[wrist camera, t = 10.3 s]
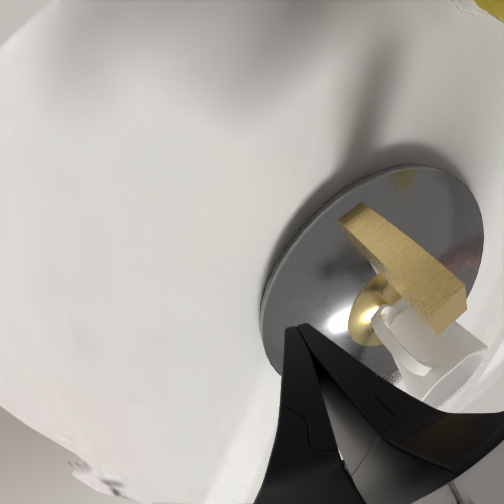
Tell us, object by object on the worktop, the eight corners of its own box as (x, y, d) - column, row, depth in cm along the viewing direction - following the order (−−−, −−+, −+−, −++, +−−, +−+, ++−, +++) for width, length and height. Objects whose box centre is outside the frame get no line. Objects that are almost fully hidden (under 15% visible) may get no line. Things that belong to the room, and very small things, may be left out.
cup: (395, 350, 24) (436, 413, 17) (324, 329, 20) (370, 420, 14) (443, 294, 22) (497, 352, 15) (384, 253, 18) (461, 332, 11)
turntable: (480, 290, 26) (531, 341, 17) (331, 404, 29) (361, 474, 21) (449, 109, 15) (564, 146, 7) (192, 300, 18) (203, 439, 10)
